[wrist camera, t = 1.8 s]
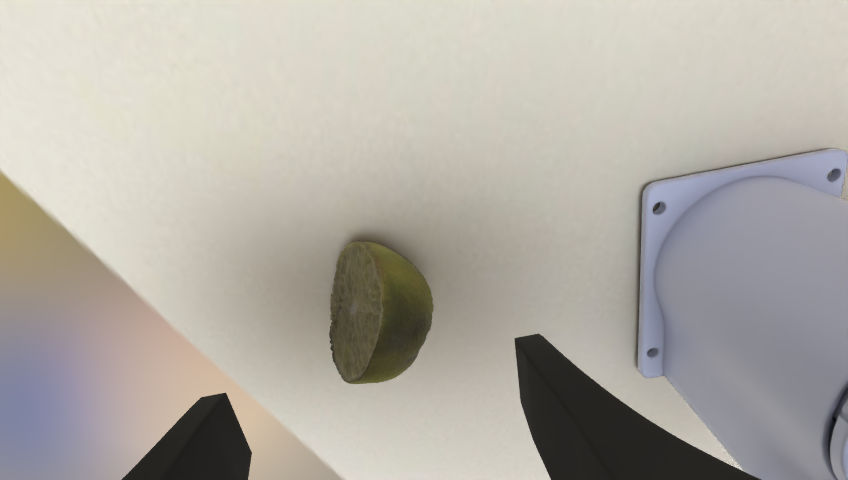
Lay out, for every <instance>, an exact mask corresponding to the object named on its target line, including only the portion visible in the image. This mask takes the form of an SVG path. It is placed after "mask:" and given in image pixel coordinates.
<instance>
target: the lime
mask: <svg viewBox="0 0 848 480" xmlns="http://www.w3.org/2000/svg"><path fill="white" fill-rule="evenodd" d="M336 268H337V269H336V274H335V278H334V285H333V293H332V295H331V308H330V309H331V320H332V322H331V326H330V333H329V334H330V339H331V340H330V343H331V344H332V345H331V350H332V351H333V353H332V355H333V357H332V358H333V361H334V363H335V365H336V367H337V370H338V372H339V374H340V375H341V377H342V379H343V380H344V381H346V382H347V383H351V384H362V383H379V382H384V381H387V380H390V379H393V378H395V377H397V376H399V375H400V374H402V373H403V372H404V371H405V370H406V369H407V368H408V367H410V366H411V364H412V363H413V362H414V360H415V359H416V357H417V355H418V352H419V350H420V348H421V346H422V345H423V344H424V342H425V339H426V336H427V333H428V332H429V330H430V327H431V323H432V322H431V320H432V312H433V298H432V295H431V289H430V287H429V285H428V283H427V281H426V279H425V278H424V277H423V275H422V274H421V273H420V272H419V271H418V269H417V268H416V267H415V266H414V265H413V264H412V263H411V262H409V261H408V260H407V259H405V258H404V257H402V256H401V255H399V254H398V253H395V252H394V251H392V250H390V249H389V248H386V247H384V246H382V245H379V244H377V243H374V242H365V241H354V242H352V243H350V244H348V245H346V246H345V249H344V251H342V252H341V254H340V257H339V259H338V262H337V267H336Z"/></svg>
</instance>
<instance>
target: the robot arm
mask: <svg viewBox="0 0 848 480" xmlns="http://www.w3.org/2000/svg"><path fill="white" fill-rule="evenodd" d="M847 164H848V154H847V152H845V151H843V150H840V149H836V148H831V149H825V150H820V151H815V152H809V153H804V154H799V155H793V156H788V157H783V158H777V159H772V160H767V161H761V162H756V163H751V164H746V165H740V166H735V167H730V168H724V169H719V170H714V171H708V172H703V173H698V174H692V175H687V176H682V177H676V178H671V179H666V180H661V181H655V182H653V183H650V184H649V185H648V186H647V187H646V188H645V190H644V191H643V196H642V231H641V267H640V304H639V340H638V370H639V372H640V373H641V374H642V375H643V376H644V377H646V378H654V377H659V376H665V377H666V378H667V379H668V381H669V382H670V383H671V384H672V385H673V387H674V388H675V389H676V390H677V391H678V393H679V394H680V395H681V396H682V397H683V399H684V400H685V401H686V402H687V403H688V405H689V406H690V407H691V408H692V409H693V411H694V412H695V413H696V414H697V415H698V417H699V418H700V419H701V420H702V421H703V423H704V424H705V425H706V426H707V427H708V429H709V430H710V431H711V432H712V433H713V435H714V436H715V437H716V438H717V439H718V441H719V442H720V443H721V444H722V445H723V447H724V448H725V449H726V450H727V451H728V453H729V454H730V455H731V456H732V457H733V459H734V460H735V461H736V462H737V463H738V465H739V466H740V467H741V468H742V469H743V471H741V470H739V469H737V468H735V467H733V466H731V465H729V464H727V463H725V462H723V461H721V460H719V459H717V458H715V457H713V456H711V455H709V454H707V453H705V452H703V451H701V450H699V449H698V448H696V447H694V446H692V445H690V444H688V443H686V442H685V441H683V440H681V439H679V438H677V437H676V436H674V435H672V434H671V433H669V432H667V431H666V430H664V429H662V428H661V427H659V426H657V425H656V424H654V423H652V422H651V421H649V420H648V419H646V418H645V417H643V416H642V415H640V414H639V413H637V412H636V411H634V410H633V409H631V408H630V407H629V406H627V405H626V404H624V403H623V402H621V401H620V400H619V399H617V398H616V397H615V396H613V395H612V394H611V393H609V392H608V391H607V390H605V389H604V388H603V387H601V386H600V385H599V384H598V383H596V382H595V381H594V380H593V379H591V378H590V377H589V376H587V375H586V374H585V373H584V372H583V371H581V370H580V369H579V368H578V367H577V366H575V365H574V364H573V363H572V362H571V361H570V360H568V359H567V358H566V357H565V356H564V355H563V354H562V353H560V352H559V351H558V350H557V349H556V348H555V347H554V346H553V345H552V344H551V343H549V342H548V341H547V340H546V339H545V338H544V337H543V336H541V335H540V334H534V335H529V336H524V337H519V338H515V347H516V358H517V368H518V378H519V389H520V399H521V404H522V407H523V410H524V413H525V416H526V420H527V423H528V426H529V429H530V432H531V435H532V438H533V440H534V443H535V445H536V447H537V449H538V452H539V454H540V456H541V458H542V460H543V463H544V465H545V467H546V469H547V472H548V474H549V476H550V478H551V480H848V201H847V200H844V199H841V198H840V197H841V192H842V187H843V183H844V178H845V173H846V168H847ZM831 171H832V173H831V175H830V176H829V177H828V175H829V173H830V172H831ZM658 202H660V207H659V208H658V209H657V210H655V211H653V206H654V205H655V204H656V203H658ZM652 348H653V349H652ZM650 349H652V350H651V351H649V350H650ZM648 351H649V352H648ZM251 455H252V452H251V450H250V448H249V446H248V443H247V441H246V438H245V436H244V434H243V431H242V429H241V427H240V424H239V422H238V420H237V418H236V415H235V413H234V410H233V408H232V406H231V403H230V401H229V399H228V396H227V394H226V393H222V394H217V395H212V396H206V397H201V398H200V399H199V400H198V401H197V402H196V403H195V404H194V405H193V406H192V407H191V408H190V409H189V410H188V411H187V412H186V413H185V414H184V415H183V416H182V417H181V418H180V419H179V420H178V421H177V423H176V424H175V425H174V426H173V427H172V428H171V429H170V430H169V431H168V432H167V433H166V434H165V435H164V437H162V439H161V440H160V441H159V442H158V443H157V444H156V445H155V446H154V447H153V448H152V449H151V450H150V451H149V452H148V453H147V454H146V455H145V457H144V458H142V459H141V461H140V462H139V463H138V464H137V465H136V466H135V467H134V468H133V469H132V470H131V471H130V472H129V473H128V474H127V475H126V476H125V477H124V478H123V479H122V480H248V476H249V468H250V461H251Z"/></svg>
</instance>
